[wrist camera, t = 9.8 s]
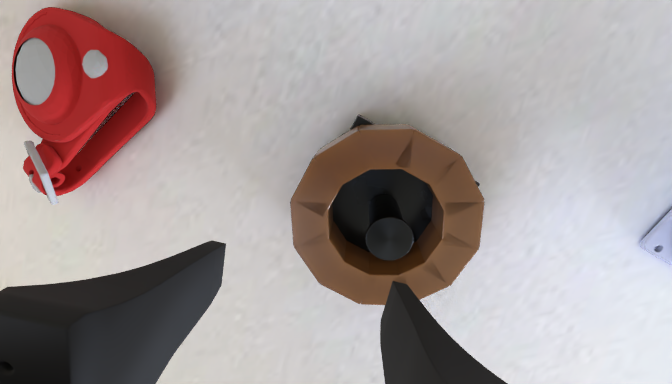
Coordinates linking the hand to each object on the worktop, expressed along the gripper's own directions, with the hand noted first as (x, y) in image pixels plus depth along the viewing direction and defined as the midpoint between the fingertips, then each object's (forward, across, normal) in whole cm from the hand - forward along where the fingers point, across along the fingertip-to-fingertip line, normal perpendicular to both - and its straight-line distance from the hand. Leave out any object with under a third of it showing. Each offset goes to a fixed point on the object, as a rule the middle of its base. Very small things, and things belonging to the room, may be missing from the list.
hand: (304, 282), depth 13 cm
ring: (+9, -4, -1) cm, 10 cm away
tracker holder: (+10, +18, -3) cm, 21 cm away
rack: (+10, -4, -1) cm, 11 cm away
